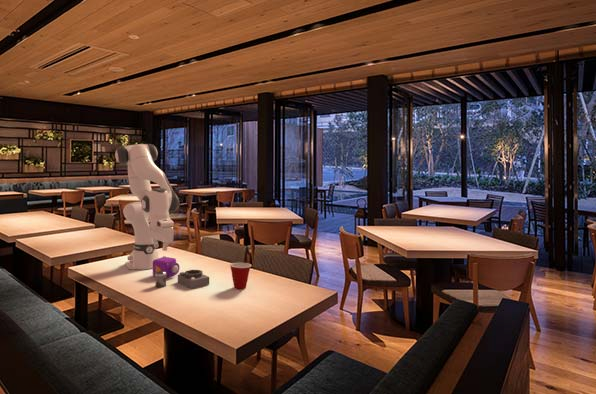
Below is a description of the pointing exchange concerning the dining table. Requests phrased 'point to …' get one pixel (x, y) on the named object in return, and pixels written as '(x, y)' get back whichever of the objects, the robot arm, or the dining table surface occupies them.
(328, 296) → the dining table surface
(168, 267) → the purple box with triangle
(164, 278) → the lens
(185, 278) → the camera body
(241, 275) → the plastic cup
